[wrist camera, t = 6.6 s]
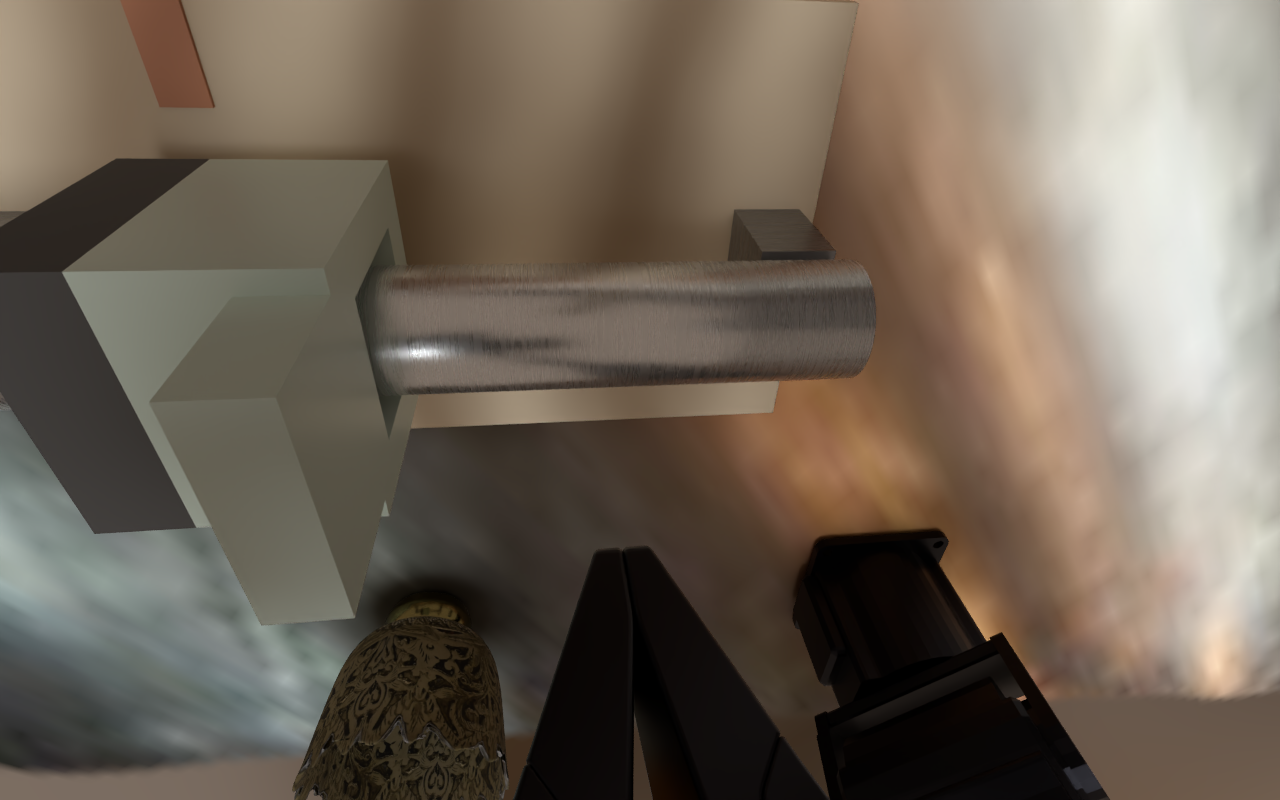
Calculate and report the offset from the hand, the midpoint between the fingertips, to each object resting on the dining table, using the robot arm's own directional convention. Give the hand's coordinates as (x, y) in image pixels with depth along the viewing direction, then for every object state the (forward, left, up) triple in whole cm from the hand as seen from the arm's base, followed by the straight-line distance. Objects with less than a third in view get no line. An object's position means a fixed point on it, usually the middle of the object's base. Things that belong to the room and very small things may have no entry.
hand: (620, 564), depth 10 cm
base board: (+4, 0, -13) cm, 14 cm away
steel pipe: (+4, 0, -13) cm, 14 cm away
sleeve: (+7, 0, -10) cm, 12 cm away
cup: (+7, +18, -13) cm, 23 cm away
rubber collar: (+10, 0, -10) cm, 14 cm away
